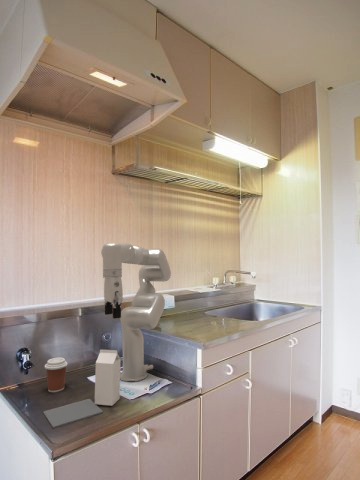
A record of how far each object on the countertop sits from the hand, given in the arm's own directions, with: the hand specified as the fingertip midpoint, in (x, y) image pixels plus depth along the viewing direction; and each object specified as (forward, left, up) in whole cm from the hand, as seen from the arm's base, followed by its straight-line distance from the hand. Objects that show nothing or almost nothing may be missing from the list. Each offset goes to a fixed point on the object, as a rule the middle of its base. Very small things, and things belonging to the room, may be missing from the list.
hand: (112, 316), depth 132 cm
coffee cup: (+17, -19, -31) cm, 40 cm away
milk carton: (+5, +6, -31) cm, 32 cm away
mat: (+18, +6, -31) cm, 36 cm away
